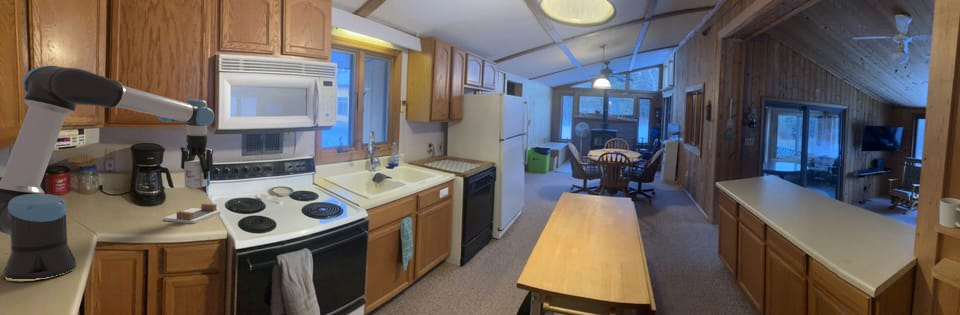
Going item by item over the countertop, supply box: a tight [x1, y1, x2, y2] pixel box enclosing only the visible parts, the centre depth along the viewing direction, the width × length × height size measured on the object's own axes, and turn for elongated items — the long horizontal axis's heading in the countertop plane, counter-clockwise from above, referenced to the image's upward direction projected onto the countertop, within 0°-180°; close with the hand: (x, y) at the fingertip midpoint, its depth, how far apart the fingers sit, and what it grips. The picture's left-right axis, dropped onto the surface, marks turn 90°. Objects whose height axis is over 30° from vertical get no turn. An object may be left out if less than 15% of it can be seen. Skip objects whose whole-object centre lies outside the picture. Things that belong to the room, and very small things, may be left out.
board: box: [162, 202, 221, 224], centre depth 188 cm, size 17×14×4 cm
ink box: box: [183, 159, 211, 189], centre depth 186 cm, size 9×5×12 cm, turn 165°
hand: (197, 185), depth 187 cm, fingers closed on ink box, 6 cm apart
